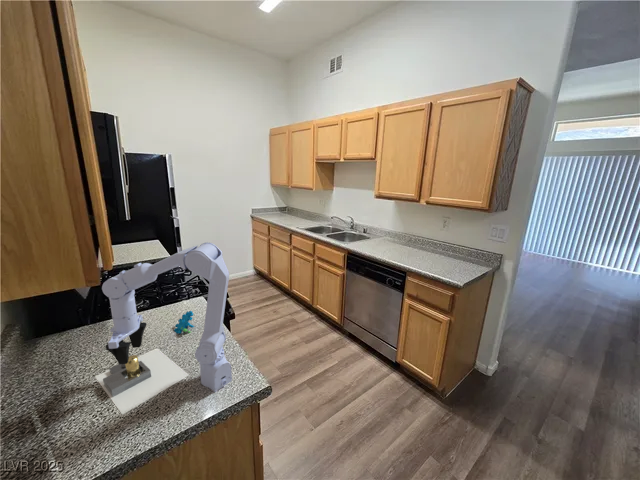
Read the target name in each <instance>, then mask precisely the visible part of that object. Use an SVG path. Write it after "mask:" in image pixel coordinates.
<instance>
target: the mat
mask: <svg viewBox="0 0 640 480" xmlns="http://www.w3.org/2000/svg"><path fill="white" fill-rule="evenodd" d="M138 361H142V362H143V363H144V364H145V365H146V366H147V367H148V368H149V369H150V370H151V377H150V378H148V379H146V380H144V381H142V382H141V383H139V384H137V385H135V386H133V387H131V388H129V389H127V390H125V391H124V392H122V393H120V394H118V395H116V396H114V397H112V396H111V394H110V393H109V392H108V390H107V389H106V387H105V386H104V382H103V378H106V377H108V376H110V375H112V374H111V373H110V371H109V369H108V370H106V371H104V372H102V373H100V374H98V375H96V376H94V378H95V379H96V381H97V382H98V384H100V386H101V388H102V389H103V390H104V391H105V393H106V394H107V395H108V397H109V398H110V400H111V401H112V402H113V404H114V405H115V407H116V409H118V411H119V412H120V414H121V415H125V414H126V413H127V412H130V411H131V410H133V409H134V408H137V406H139V405H141V404H143V403H145V402H147V401H148V400H150V399H152V398H153V397H155V396H157V395H158V394H160V393H162V392H163V391H165V390H167V389H169V388H170V387H172V386H173V385H175V384H177V383H178V382H180V381H182V380H183V379H185V378H187V377H188V376H190V375H189V373H187V372H186V371H185V370H184V369H182V368H181V367H180V366H179V365H178V364H177V363H175V362H174V361H173V360H172V359H171V358H170V357H168V355H166V354H165V353H164V352H162V351H161V349H159V348H155V349H152V350H150V351H148V352H146V353H144V354H141V355H139V356H138ZM140 373H142V372H141V371H140ZM125 379H126V380H128V378H127V377H125Z"/></svg>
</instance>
